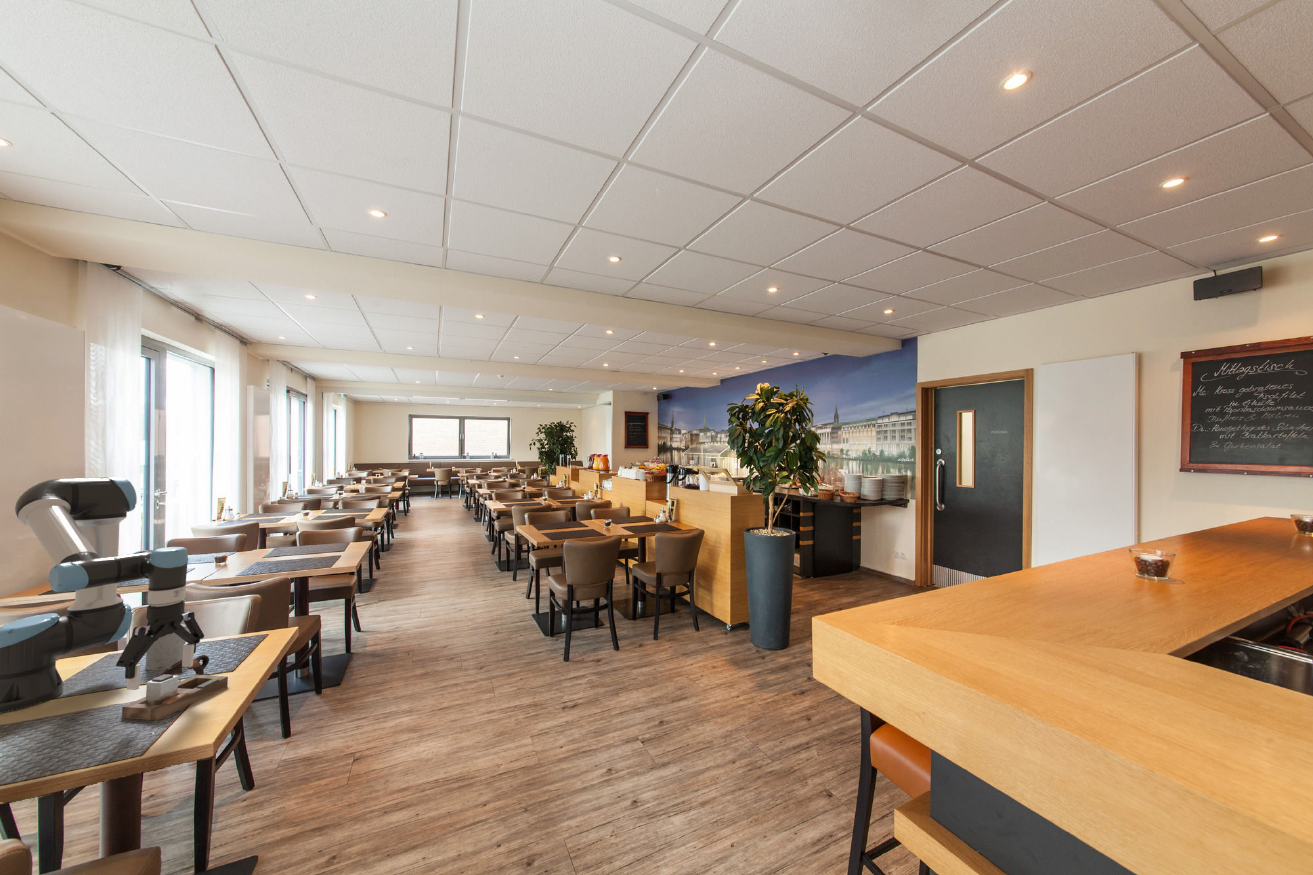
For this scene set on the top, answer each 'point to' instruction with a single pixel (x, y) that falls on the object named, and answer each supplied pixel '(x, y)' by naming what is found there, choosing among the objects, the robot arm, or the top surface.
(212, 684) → the socket board
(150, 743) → the top surface
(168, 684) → the plug
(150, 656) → the grey cylinder
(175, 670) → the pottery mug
